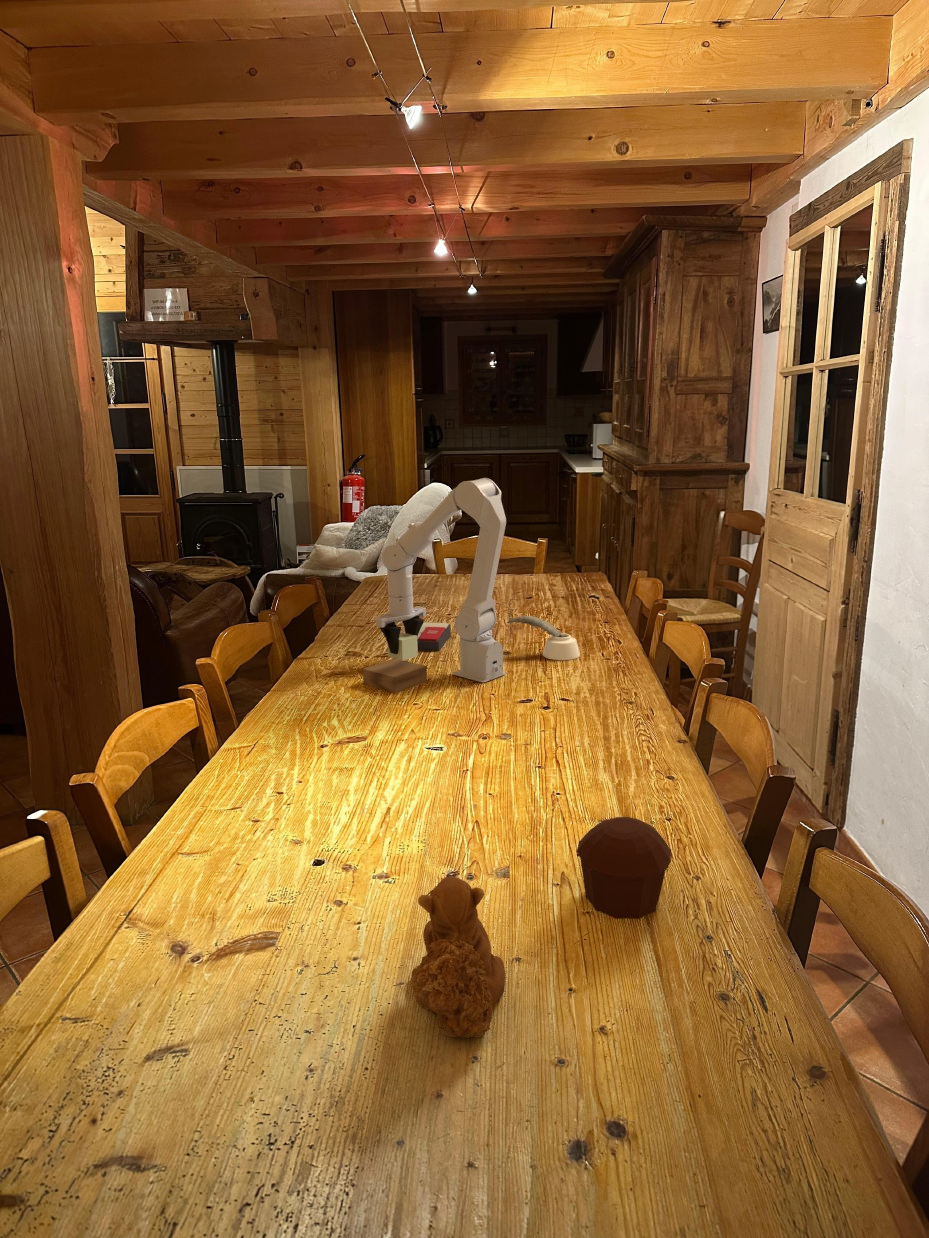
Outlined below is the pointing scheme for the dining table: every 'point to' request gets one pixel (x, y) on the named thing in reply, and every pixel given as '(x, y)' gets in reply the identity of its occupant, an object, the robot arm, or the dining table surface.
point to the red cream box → (433, 636)
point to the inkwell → (553, 639)
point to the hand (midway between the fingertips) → (402, 650)
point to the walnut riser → (394, 675)
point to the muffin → (623, 867)
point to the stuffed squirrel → (457, 961)
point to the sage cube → (405, 647)
